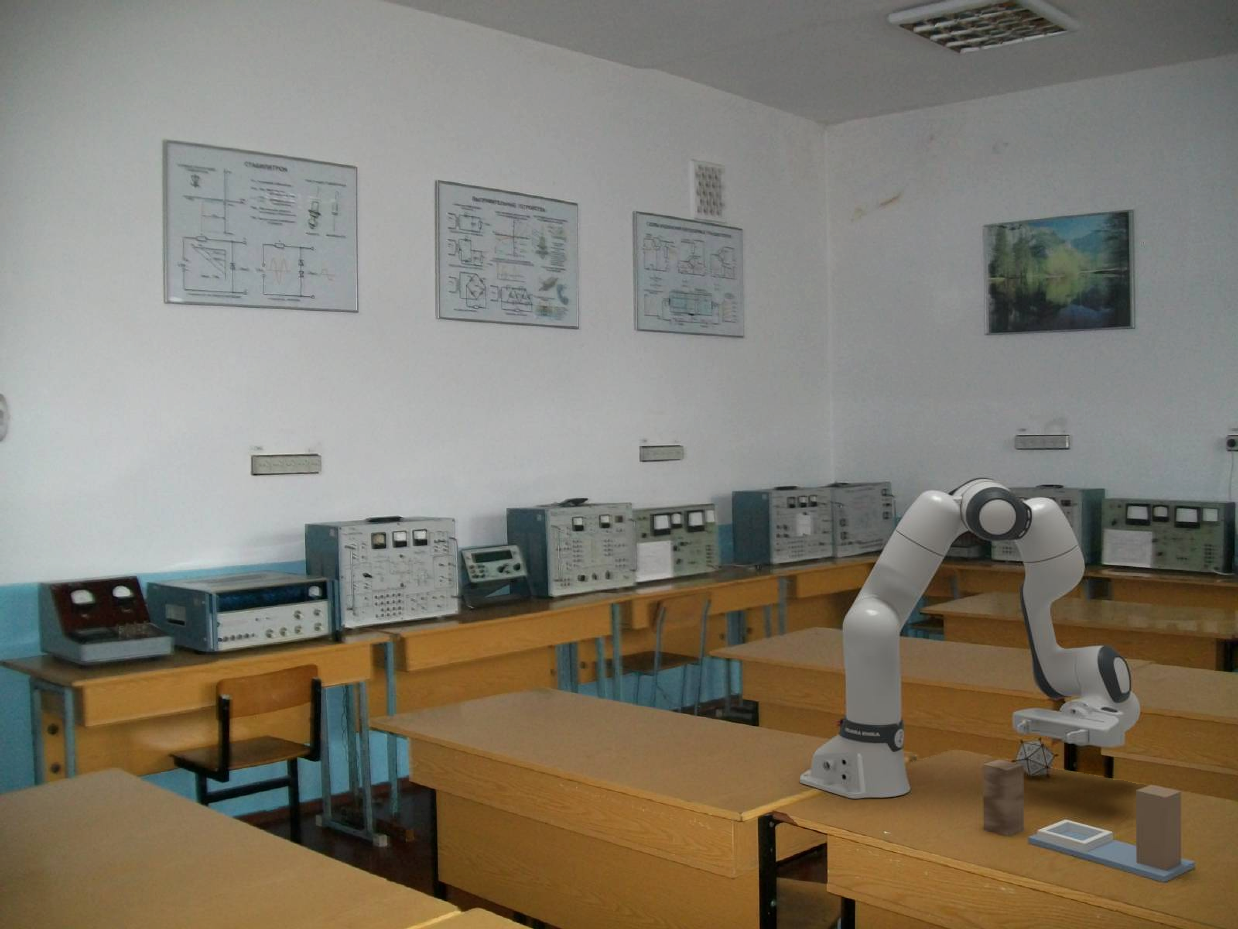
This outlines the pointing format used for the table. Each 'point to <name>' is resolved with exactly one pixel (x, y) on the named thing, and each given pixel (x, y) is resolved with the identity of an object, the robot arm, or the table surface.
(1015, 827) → the pillar
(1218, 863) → the table surface
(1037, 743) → the game die
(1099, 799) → the table surface
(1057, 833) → the baseplate
